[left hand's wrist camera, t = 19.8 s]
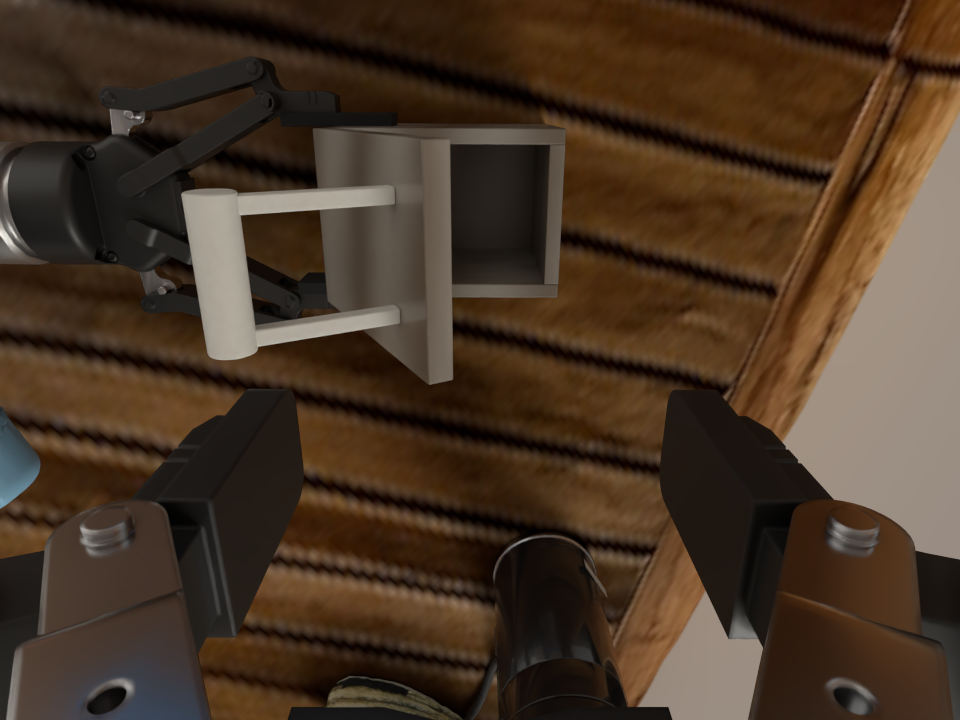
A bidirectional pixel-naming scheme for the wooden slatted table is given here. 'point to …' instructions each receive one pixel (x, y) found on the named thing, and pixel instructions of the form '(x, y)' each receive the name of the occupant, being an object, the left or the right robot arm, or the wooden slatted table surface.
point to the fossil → (386, 698)
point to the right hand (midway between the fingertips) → (398, 205)
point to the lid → (343, 250)
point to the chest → (501, 205)
